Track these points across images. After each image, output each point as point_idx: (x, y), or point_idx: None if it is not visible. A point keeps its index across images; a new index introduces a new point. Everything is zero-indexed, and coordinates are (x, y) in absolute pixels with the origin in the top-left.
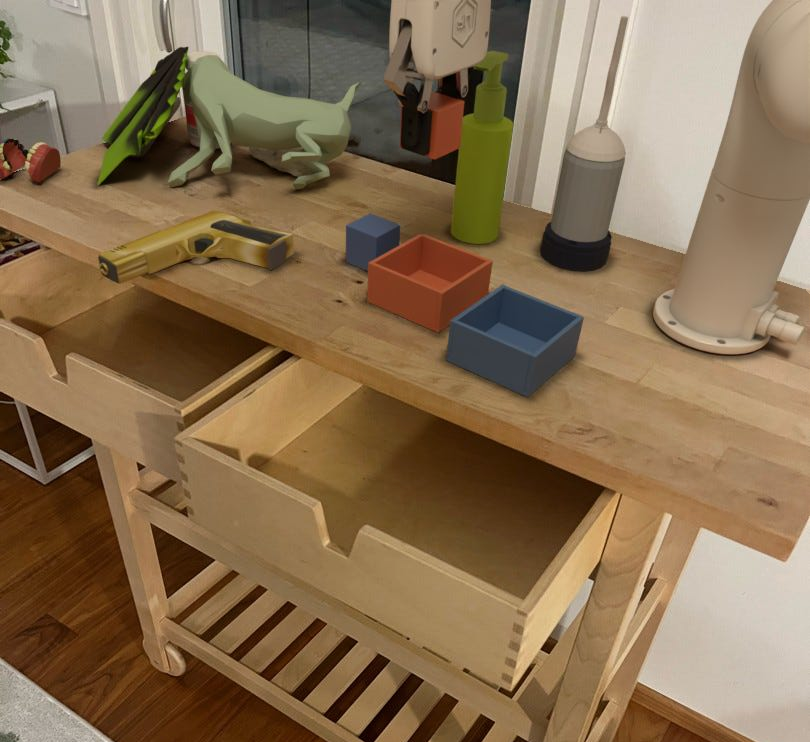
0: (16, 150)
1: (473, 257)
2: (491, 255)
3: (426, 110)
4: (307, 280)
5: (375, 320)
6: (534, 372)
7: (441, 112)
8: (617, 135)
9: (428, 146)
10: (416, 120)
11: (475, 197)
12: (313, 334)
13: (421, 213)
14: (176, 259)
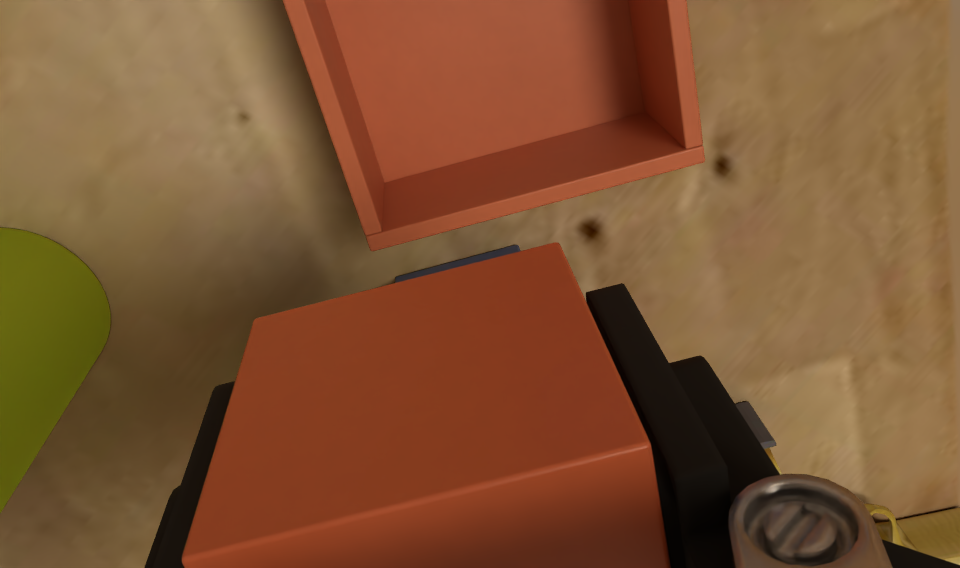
0: None
1: None
2: (45, 149)
3: (750, 494)
4: (706, 313)
5: (718, 2)
6: None
7: (584, 445)
8: None
9: (613, 311)
10: (771, 468)
11: (1, 348)
12: (923, 44)
13: (126, 487)
14: (903, 527)
